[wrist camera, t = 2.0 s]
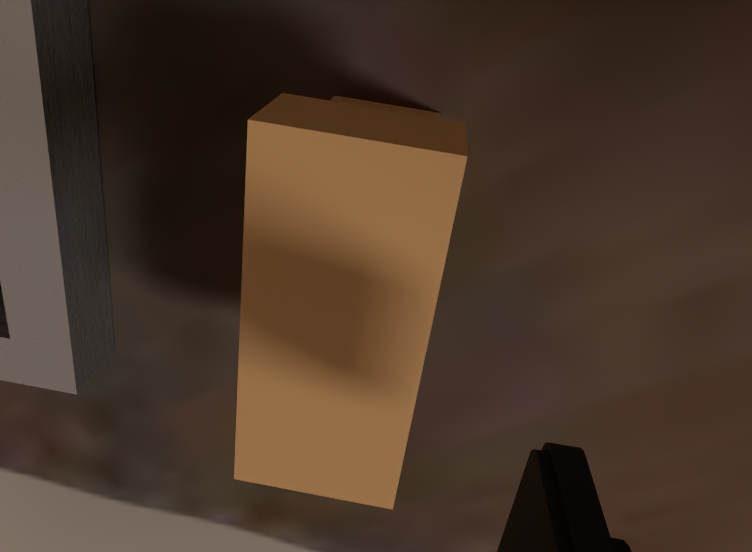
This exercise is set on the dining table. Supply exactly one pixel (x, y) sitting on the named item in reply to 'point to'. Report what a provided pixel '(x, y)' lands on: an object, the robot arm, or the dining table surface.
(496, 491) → the dining table surface
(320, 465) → the tan rectangular block
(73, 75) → the grey slotted tray
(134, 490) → the dining table surface
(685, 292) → the dining table surface
